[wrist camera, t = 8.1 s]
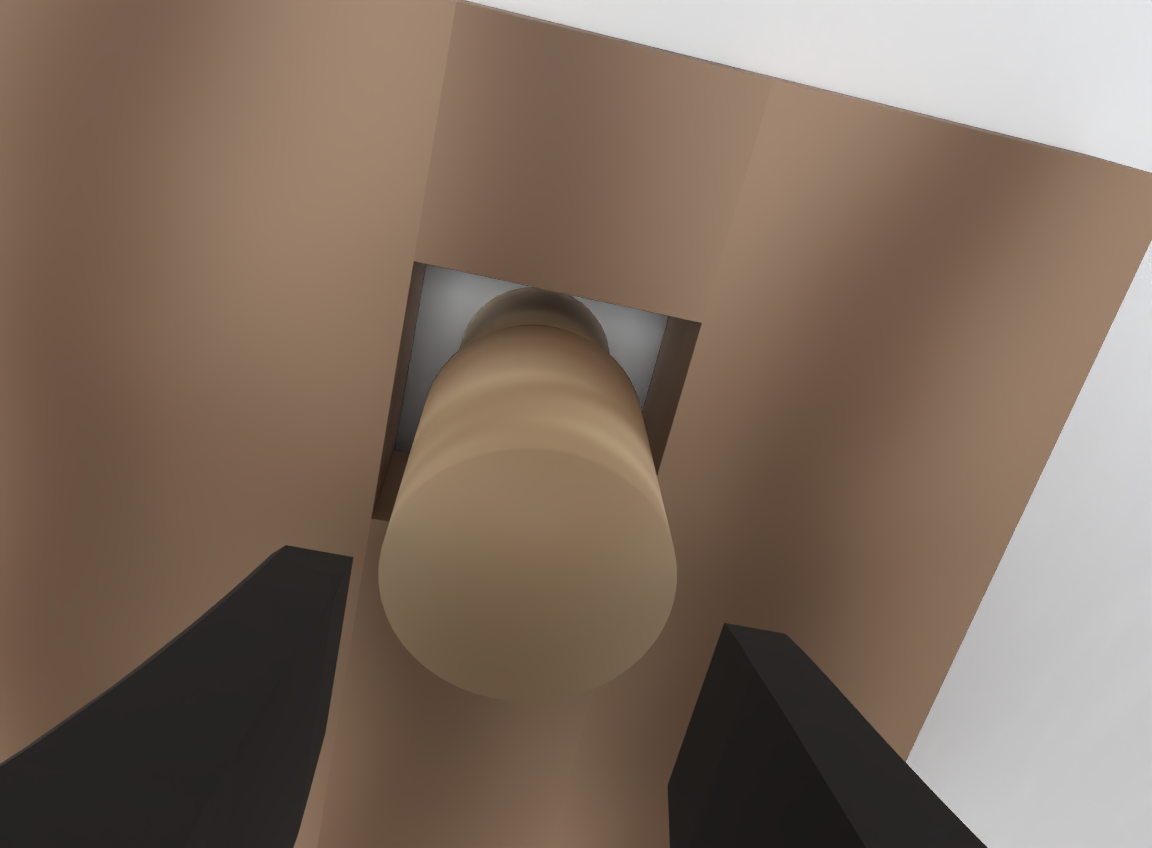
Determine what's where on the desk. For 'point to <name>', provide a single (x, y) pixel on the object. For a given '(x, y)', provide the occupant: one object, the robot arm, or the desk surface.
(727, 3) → the desk surface
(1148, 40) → the desk surface
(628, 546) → the peg
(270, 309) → the board
